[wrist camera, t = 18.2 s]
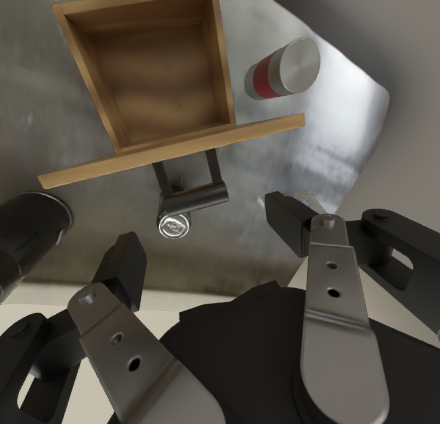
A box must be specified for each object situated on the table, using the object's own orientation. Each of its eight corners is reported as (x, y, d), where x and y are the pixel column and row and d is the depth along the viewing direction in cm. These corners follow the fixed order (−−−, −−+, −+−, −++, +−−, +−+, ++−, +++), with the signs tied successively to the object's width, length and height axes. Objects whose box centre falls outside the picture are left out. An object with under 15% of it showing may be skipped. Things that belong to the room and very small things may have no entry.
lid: (35, 176, 11) (82, 254, 13) (304, 112, 13) (307, 190, 15) (115, 153, 25) (131, 193, 27) (237, 125, 27) (243, 164, 29)
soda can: (166, 180, 37) (165, 205, 26) (190, 191, 39) (197, 218, 28) (156, 202, 38) (150, 234, 28) (179, 211, 40) (182, 245, 30)
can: (246, 103, 34) (280, 97, 24) (242, 66, 32) (278, 41, 21) (274, 96, 35) (319, 88, 24) (273, 60, 32) (322, 33, 22)
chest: (85, 37, 26) (50, 4, 18) (203, 17, 28) (216, -20, 20) (129, 147, 33) (117, 156, 25) (222, 125, 35) (236, 128, 27)
